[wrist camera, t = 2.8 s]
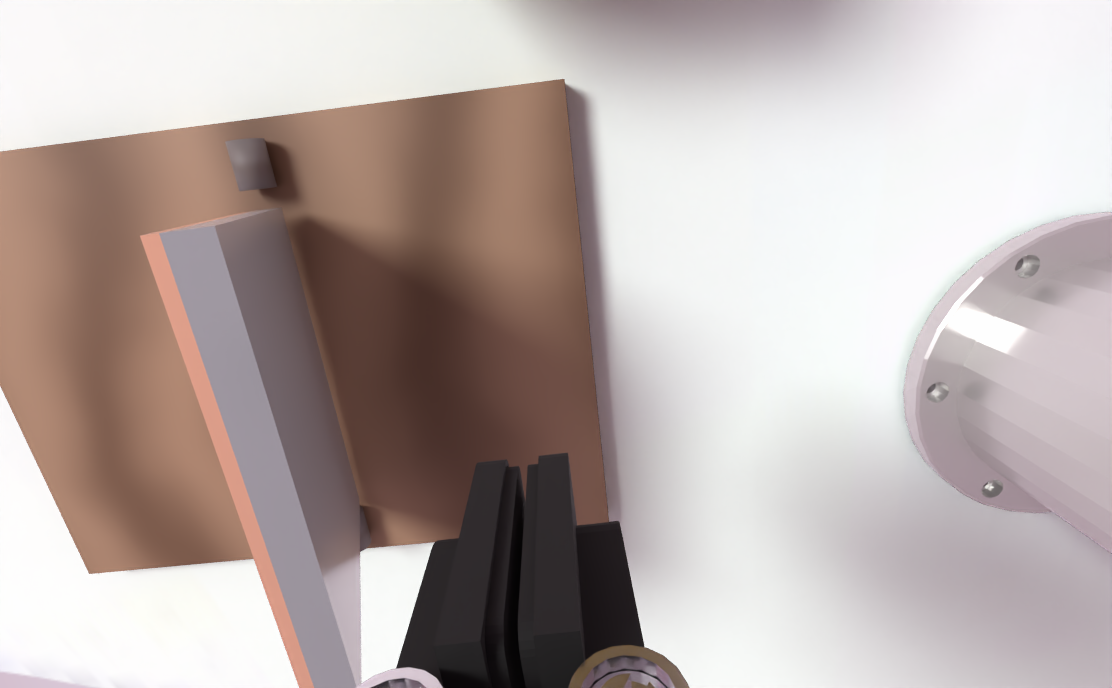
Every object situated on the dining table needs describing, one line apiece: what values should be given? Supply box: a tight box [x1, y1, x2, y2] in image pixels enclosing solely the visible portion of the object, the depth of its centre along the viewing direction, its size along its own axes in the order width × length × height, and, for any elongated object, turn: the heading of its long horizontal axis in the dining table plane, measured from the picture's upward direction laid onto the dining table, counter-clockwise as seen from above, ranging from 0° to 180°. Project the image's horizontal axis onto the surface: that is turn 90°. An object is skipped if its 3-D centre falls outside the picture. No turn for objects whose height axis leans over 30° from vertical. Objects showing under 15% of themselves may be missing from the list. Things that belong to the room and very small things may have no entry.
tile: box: [140, 208, 361, 688], centre depth 16 cm, size 10×12×1 cm
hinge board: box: [0, 79, 609, 574], centre depth 22 cm, size 24×18×2 cm
